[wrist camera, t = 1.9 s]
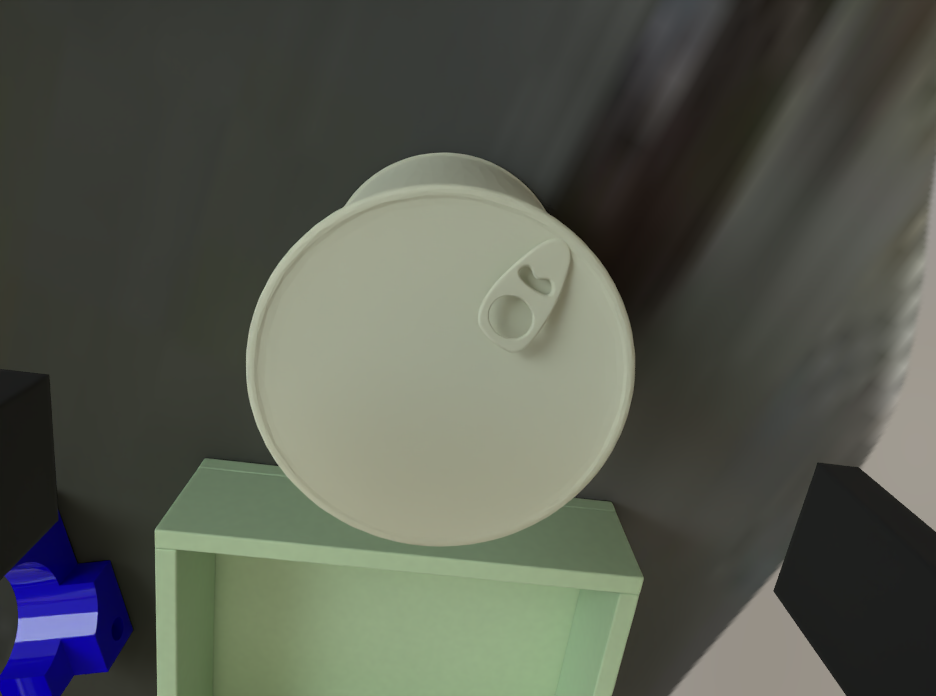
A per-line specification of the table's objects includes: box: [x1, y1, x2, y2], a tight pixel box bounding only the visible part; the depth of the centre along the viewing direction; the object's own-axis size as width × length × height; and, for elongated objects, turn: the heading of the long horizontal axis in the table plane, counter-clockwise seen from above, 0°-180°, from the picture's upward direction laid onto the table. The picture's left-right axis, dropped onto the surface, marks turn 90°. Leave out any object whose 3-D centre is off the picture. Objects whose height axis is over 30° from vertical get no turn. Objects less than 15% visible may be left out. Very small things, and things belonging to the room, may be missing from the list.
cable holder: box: [0, 510, 133, 696], centre depth 28 cm, size 8×4×4 cm, turn 6°
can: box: [246, 153, 635, 547], centre depth 21 cm, size 9×9×12 cm
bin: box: [155, 458, 644, 696], centre depth 29 cm, size 14×18×5 cm
